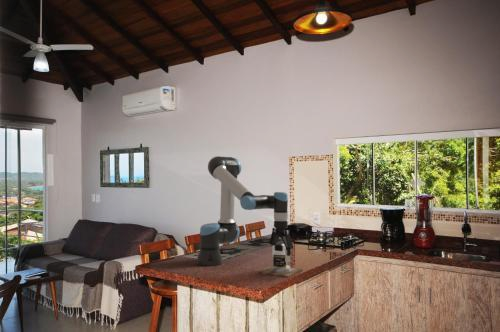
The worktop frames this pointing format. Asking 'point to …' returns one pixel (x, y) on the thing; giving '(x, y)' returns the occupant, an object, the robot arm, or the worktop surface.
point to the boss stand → (281, 271)
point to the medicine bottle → (279, 256)
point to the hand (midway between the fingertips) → (280, 259)
